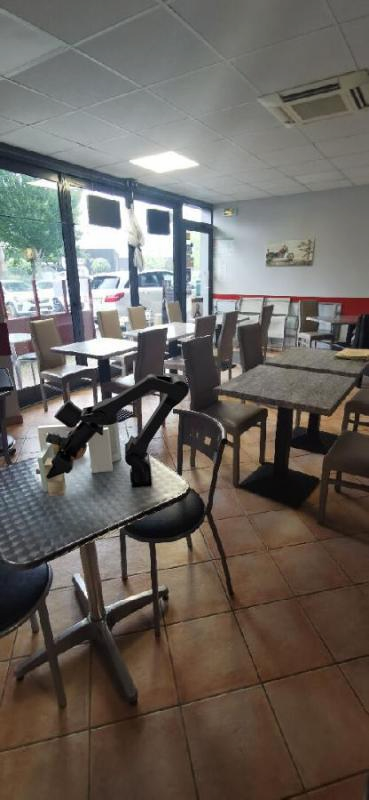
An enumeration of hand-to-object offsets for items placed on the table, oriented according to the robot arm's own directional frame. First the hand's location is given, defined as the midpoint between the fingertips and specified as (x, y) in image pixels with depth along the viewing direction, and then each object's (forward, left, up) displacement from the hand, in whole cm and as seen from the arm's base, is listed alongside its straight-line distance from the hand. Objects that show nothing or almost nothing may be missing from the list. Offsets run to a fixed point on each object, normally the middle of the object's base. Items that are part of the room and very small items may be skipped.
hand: (49, 470), depth 126 cm
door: (+3, -6, -7) cm, 10 cm away
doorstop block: (-1, 0, -8) cm, 8 cm away
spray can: (-17, -21, -8) cm, 28 cm away
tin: (0, -22, -8) cm, 23 cm away
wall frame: (-6, -12, -8) cm, 15 cm away
